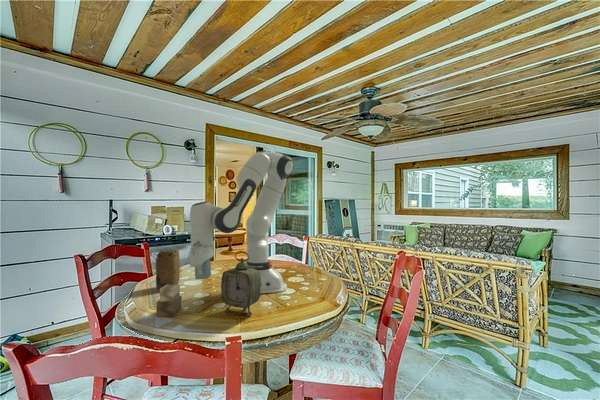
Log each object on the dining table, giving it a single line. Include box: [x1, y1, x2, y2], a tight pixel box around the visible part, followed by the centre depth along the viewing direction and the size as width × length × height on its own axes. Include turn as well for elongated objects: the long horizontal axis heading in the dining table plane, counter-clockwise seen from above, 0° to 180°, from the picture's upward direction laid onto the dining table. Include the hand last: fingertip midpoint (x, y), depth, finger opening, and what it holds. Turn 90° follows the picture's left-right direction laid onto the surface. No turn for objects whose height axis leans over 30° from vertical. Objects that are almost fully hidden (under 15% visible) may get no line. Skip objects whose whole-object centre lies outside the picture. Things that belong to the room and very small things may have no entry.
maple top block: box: [159, 284, 181, 302], centre depth 114 cm, size 6×6×5 cm
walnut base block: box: [155, 295, 183, 318], centre depth 114 cm, size 7×7×6 cm
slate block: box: [194, 259, 212, 280], centre depth 121 cm, size 5×5×7 cm
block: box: [155, 248, 181, 289], centre depth 147 cm, size 11×8×20 cm
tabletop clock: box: [220, 250, 262, 317], centre depth 116 cm, size 14×9×25 cm, turn 66°
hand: (203, 271), depth 121 cm, fingers closed on slate block, 5 cm apart
